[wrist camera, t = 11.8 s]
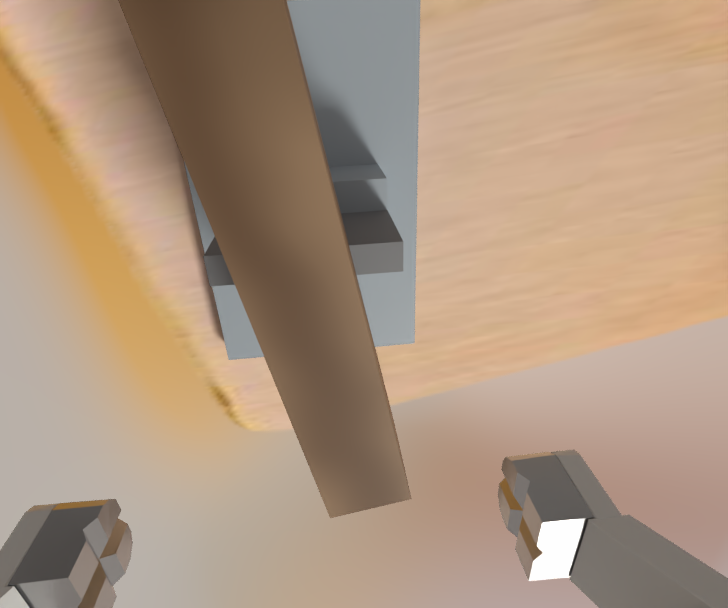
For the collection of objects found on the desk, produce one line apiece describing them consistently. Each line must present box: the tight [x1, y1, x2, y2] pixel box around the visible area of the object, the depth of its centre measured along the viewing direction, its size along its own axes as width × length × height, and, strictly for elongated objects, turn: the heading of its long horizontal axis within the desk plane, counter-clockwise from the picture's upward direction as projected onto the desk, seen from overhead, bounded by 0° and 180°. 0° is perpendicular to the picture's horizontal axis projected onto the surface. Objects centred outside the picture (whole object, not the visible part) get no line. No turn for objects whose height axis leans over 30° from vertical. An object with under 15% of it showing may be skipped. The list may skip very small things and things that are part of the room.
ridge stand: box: [184, 0, 420, 360], centre depth 25 cm, size 14×22×10 cm, turn 2°
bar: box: [118, 0, 411, 518], centre depth 18 cm, size 4×22×5 cm, turn 12°
